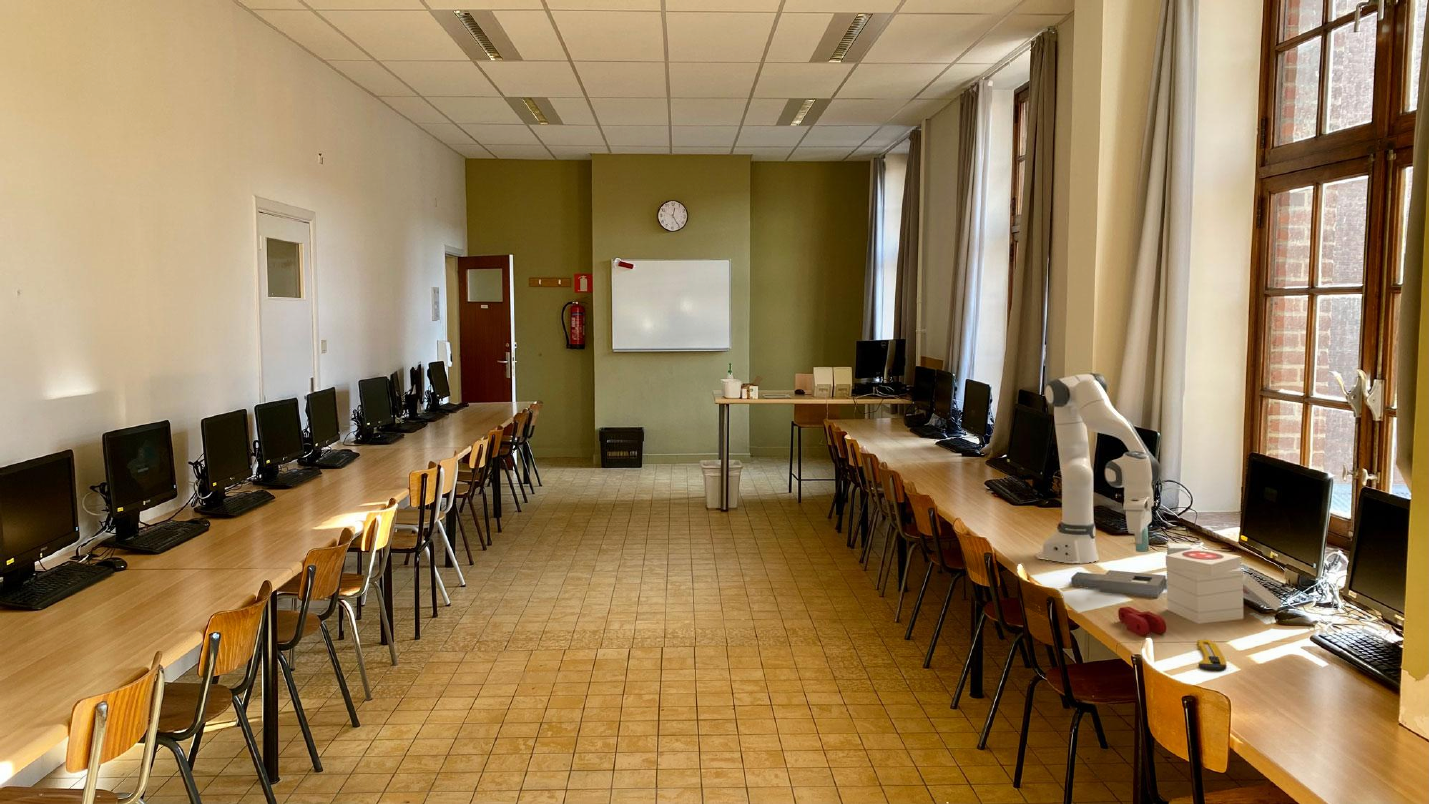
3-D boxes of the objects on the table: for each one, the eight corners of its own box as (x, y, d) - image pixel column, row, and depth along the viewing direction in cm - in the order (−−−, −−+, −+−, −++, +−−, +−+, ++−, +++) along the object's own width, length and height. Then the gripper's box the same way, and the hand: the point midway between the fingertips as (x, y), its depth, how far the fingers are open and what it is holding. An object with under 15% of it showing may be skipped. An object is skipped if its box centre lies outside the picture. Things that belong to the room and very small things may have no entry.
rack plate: (1069, 588, 324) (1068, 576, 324) (1079, 578, 336) (1079, 566, 335) (1157, 597, 308) (1157, 585, 308) (1165, 587, 320) (1165, 574, 319)
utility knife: (1200, 672, 245) (1200, 664, 245) (1187, 643, 266) (1187, 636, 266) (1230, 673, 243) (1230, 666, 243) (1214, 644, 264) (1214, 637, 264)
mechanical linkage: (1166, 635, 273) (1166, 618, 273) (1143, 638, 272) (1143, 621, 271) (1132, 619, 289) (1132, 603, 288) (1111, 622, 287) (1110, 606, 287)
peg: (1134, 551, 316) (1133, 528, 315) (1137, 548, 319) (1135, 525, 318) (1147, 552, 313) (1146, 528, 313) (1149, 549, 317) (1148, 526, 316)
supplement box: (1190, 579, 328) (1189, 543, 327) (1193, 584, 321) (1193, 548, 320) (1167, 578, 330) (1166, 542, 329) (1169, 584, 323) (1169, 547, 322)
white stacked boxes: (1287, 616, 284) (1286, 557, 282) (1195, 626, 279) (1194, 566, 278) (1242, 599, 302) (1242, 543, 301) (1156, 608, 298) (1155, 551, 297)
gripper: (1135, 494, 325) (1137, 534, 326) (1121, 505, 309) (1124, 547, 310) (1155, 494, 322) (1157, 534, 323) (1142, 506, 305) (1145, 548, 306)
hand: (1141, 541), depth 316 cm, fingers closed on peg, 4 cm apart
